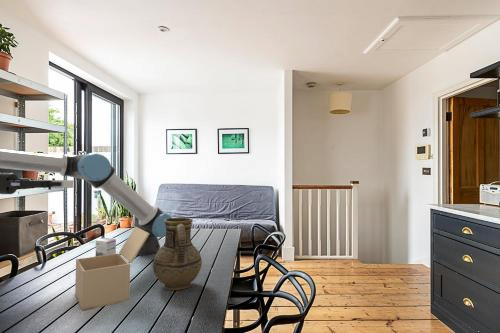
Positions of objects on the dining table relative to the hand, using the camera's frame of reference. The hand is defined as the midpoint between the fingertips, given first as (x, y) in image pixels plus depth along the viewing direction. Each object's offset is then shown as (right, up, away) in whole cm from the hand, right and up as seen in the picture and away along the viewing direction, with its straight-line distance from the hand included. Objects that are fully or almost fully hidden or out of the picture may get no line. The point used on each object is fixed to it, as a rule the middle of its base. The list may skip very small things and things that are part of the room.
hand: (72, 184), depth 113 cm
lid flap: (+22, -21, -1) cm, 31 cm away
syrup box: (+4, -39, +17) cm, 42 cm away
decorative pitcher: (+37, -39, +4) cm, 54 cm away
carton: (+14, -38, -7) cm, 41 cm away
